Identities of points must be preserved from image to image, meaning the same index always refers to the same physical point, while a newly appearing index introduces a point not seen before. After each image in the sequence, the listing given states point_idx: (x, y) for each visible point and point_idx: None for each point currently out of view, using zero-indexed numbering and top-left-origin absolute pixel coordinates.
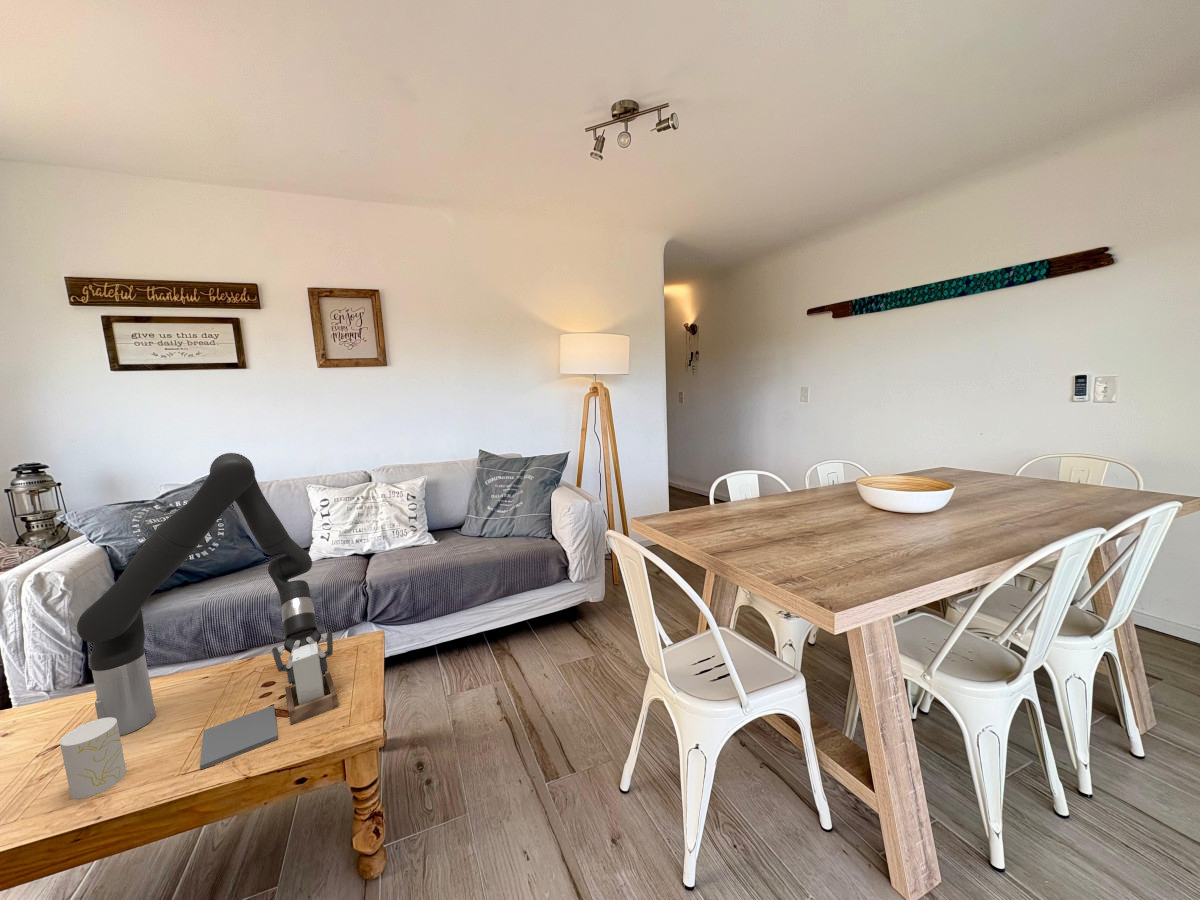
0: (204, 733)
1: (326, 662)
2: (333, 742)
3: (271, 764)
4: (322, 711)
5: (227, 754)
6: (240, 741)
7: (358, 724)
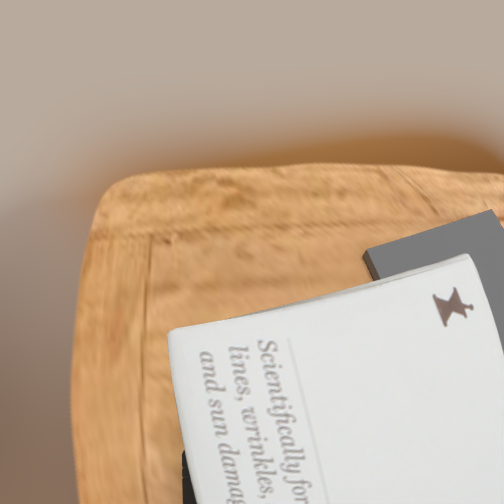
0: None
1: (184, 486)
2: (193, 186)
3: (336, 167)
4: None
5: (460, 221)
6: None
7: (128, 233)
